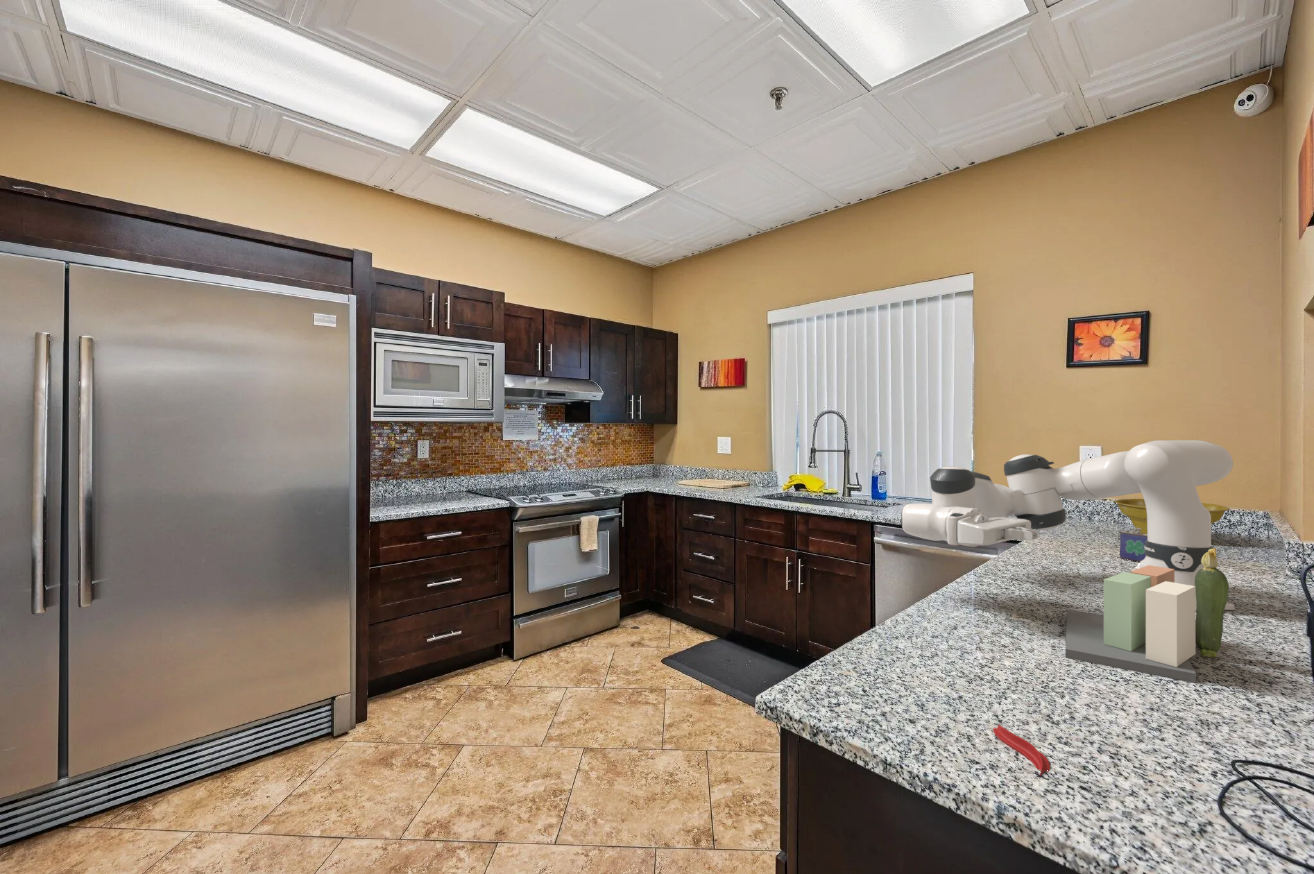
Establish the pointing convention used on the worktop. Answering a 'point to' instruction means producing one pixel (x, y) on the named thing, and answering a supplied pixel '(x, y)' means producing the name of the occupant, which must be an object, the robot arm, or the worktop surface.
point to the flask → (1132, 545)
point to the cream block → (1170, 623)
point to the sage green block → (1125, 610)
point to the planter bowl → (1139, 513)
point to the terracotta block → (1157, 574)
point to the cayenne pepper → (1023, 748)
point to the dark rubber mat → (1114, 649)
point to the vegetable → (1210, 605)
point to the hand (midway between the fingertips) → (1035, 535)
